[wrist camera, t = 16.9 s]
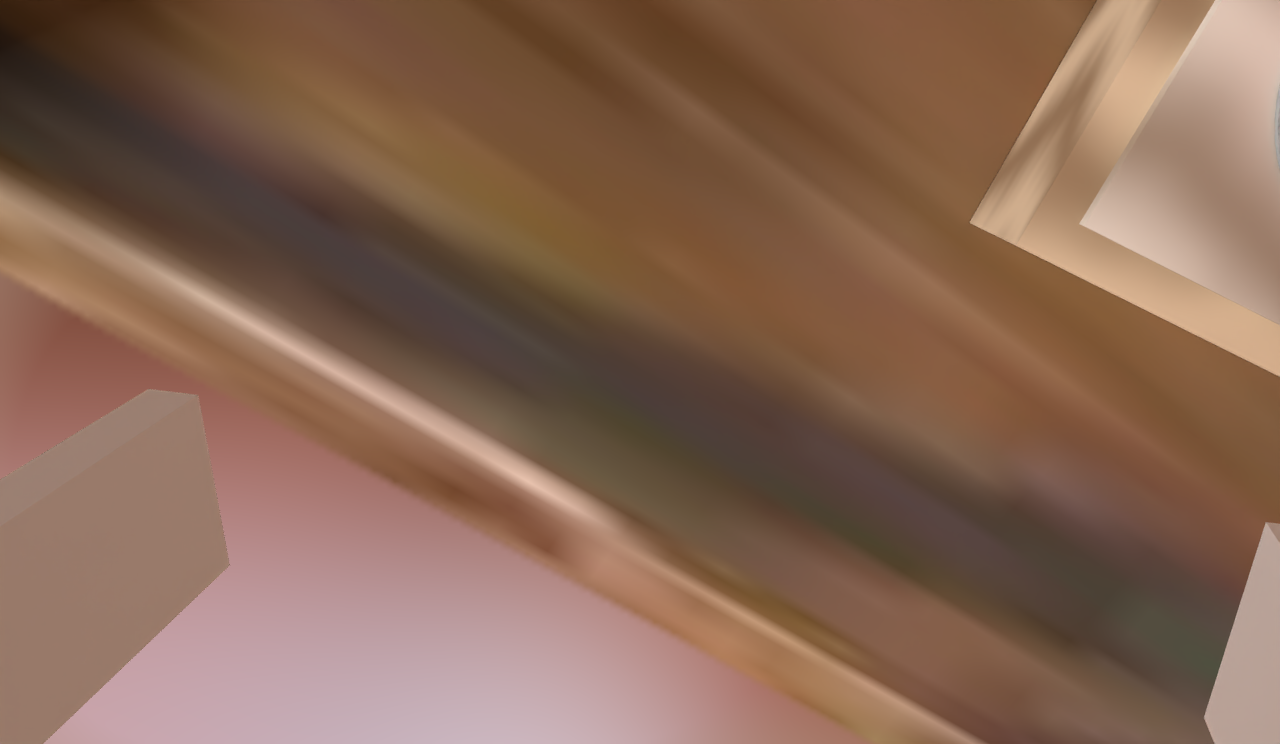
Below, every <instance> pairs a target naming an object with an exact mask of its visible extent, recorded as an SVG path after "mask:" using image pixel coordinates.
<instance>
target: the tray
mask: <svg viewBox="0 0 1280 744" xmlns="http://www.w3.org/2000/svg"><path fill="white" fill-rule="evenodd" d="M1279 85H1280V0H1097V1H1096V3H1095V5H1094V7H1093V8H1092V10H1091V12H1090V14H1089V15H1088V17H1087V19H1086V21H1085V22H1084V24H1083V26H1082V28H1081V29H1080V31H1079V33H1078V35H1077V36H1076V38H1075V40H1074V41H1073V43H1072V45H1071V47H1070V48H1069V50H1068V52H1067V54H1066V55H1065V57H1064V59H1063V61H1062V62H1061V64H1060V66H1059V68H1058V69H1057V71H1056V73H1055V75H1054V76H1053V78H1052V80H1051V82H1050V83H1049V85H1048V87H1047V88H1046V90H1045V92H1044V94H1043V95H1042V97H1041V99H1040V101H1039V102H1038V104H1037V106H1036V108H1035V109H1034V111H1033V113H1032V115H1031V116H1030V118H1029V120H1028V122H1027V123H1026V125H1025V127H1024V129H1023V130H1022V132H1021V134H1020V135H1019V137H1018V139H1017V141H1016V142H1015V144H1014V146H1013V148H1012V149H1011V151H1010V153H1009V155H1008V156H1007V158H1006V160H1005V162H1004V163H1003V165H1002V167H1001V169H1000V170H999V172H998V174H997V176H996V177H995V179H994V181H993V182H992V184H991V186H990V188H989V189H988V191H987V193H986V195H985V196H984V198H983V200H982V202H981V203H980V205H979V207H978V209H977V210H976V212H975V214H974V216H973V217H972V219H971V221H970V223H971V224H973V225H975V226H977V227H979V228H981V229H983V230H985V231H987V232H989V233H991V234H993V235H995V236H997V237H999V238H1001V239H1003V240H1005V241H1007V242H1009V243H1011V244H1013V245H1015V246H1017V247H1019V248H1021V249H1023V250H1025V251H1027V252H1029V253H1031V254H1033V255H1035V256H1037V257H1039V258H1041V259H1043V260H1046V261H1048V262H1050V263H1052V264H1054V265H1056V266H1058V267H1060V268H1062V269H1064V270H1066V271H1068V272H1070V273H1072V274H1074V275H1076V276H1078V277H1080V278H1082V279H1084V280H1086V281H1088V282H1090V283H1092V284H1094V285H1096V286H1098V287H1100V288H1102V289H1104V290H1106V291H1108V292H1110V293H1112V294H1114V295H1116V296H1118V297H1120V298H1122V299H1124V300H1126V301H1128V302H1130V303H1132V304H1134V305H1136V306H1138V307H1140V308H1142V309H1144V310H1146V311H1148V312H1150V313H1152V314H1154V315H1156V316H1158V317H1160V318H1162V319H1164V320H1166V321H1168V322H1170V323H1172V324H1174V325H1176V326H1178V327H1180V328H1182V329H1184V330H1186V331H1188V332H1190V333H1192V334H1194V335H1196V336H1198V337H1200V338H1203V339H1205V340H1207V341H1209V342H1211V343H1213V344H1215V345H1217V346H1219V347H1221V348H1223V349H1225V350H1227V351H1229V352H1231V353H1233V354H1235V355H1237V356H1239V357H1241V358H1243V359H1245V360H1247V361H1249V362H1251V363H1253V364H1255V365H1257V366H1259V367H1261V368H1263V369H1265V370H1267V371H1269V372H1271V373H1273V374H1275V375H1277V376H1279V377H1280V169H1279V164H1278V160H1277V155H1276V146H1275V110H1276V101H1277V96H1278V90H1279Z"/></svg>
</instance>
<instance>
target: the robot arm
mask: <svg viewBox="0 0 1280 744" xmlns="http://www.w3.org/2000/svg"><path fill="white" fill-rule="evenodd" d="M229 565H230V564H229V558H228V553H227V548H226V542H225V537H224V532H223V526H222V521H221V516H220V510H219V505H218V500H217V494H216V488H215V483H214V478H213V473H212V467H211V462H210V456H209V451H208V446H207V440H206V435H205V430H204V424H203V419H202V414H201V408H200V402H199V397H198V395H193V394H186V393H177V392H169V391H160V390H152V389H148V390H146V391H145V392H143V393H141V394H140V395H138V396H136V397H135V398H133V399H131V400H130V401H128V402H127V403H125V404H123V405H122V406H120V407H119V408H117V409H115V410H113V411H112V412H110V413H109V414H107V415H105V416H104V417H102V418H100V419H99V420H97V421H95V422H94V423H92V424H90V425H89V426H87V427H85V428H84V429H82V430H81V431H79V432H77V433H76V434H74V435H72V436H71V437H69V438H67V439H66V440H64V441H62V442H61V443H59V444H58V445H56V446H54V447H53V448H51V449H49V450H48V451H46V452H44V453H43V454H41V455H40V456H38V457H36V458H35V459H33V460H31V461H30V462H28V463H27V464H25V465H23V466H22V467H20V468H18V469H17V470H15V471H13V472H12V473H10V474H8V475H7V476H5V477H4V478H2V479H0V744H43V743H44V742H45V741H46V740H47V739H48V738H50V737H51V736H52V735H53V734H54V733H55V732H56V731H57V730H58V729H59V728H60V727H61V726H62V725H63V724H64V723H65V722H66V721H67V720H68V719H69V718H70V717H71V716H73V714H75V713H76V712H77V711H78V710H79V709H80V708H81V707H82V706H83V705H84V704H85V703H86V702H87V701H88V700H89V699H90V698H91V697H92V696H93V695H95V694H96V693H97V692H98V691H99V690H100V689H101V688H102V687H103V686H104V685H105V684H106V683H107V682H108V681H109V680H110V679H111V678H112V677H113V676H114V675H115V674H116V673H117V672H118V671H120V670H121V669H122V668H123V667H124V666H125V665H126V664H127V663H128V662H129V661H130V660H131V659H132V658H133V657H134V656H135V655H136V654H137V653H138V652H139V651H140V650H142V649H143V648H144V647H145V646H146V645H147V644H148V643H149V642H150V641H151V640H152V639H153V638H154V637H155V636H156V635H157V634H158V633H159V632H160V631H161V630H162V629H164V628H165V627H166V626H167V625H168V624H169V623H170V622H171V621H172V620H173V619H174V618H175V617H176V616H177V615H178V614H179V613H180V612H181V611H182V610H183V609H184V608H185V607H186V606H188V605H189V604H190V603H191V602H192V601H193V600H194V599H195V598H196V597H197V596H198V595H199V594H200V593H201V592H202V591H203V590H204V589H205V588H206V587H208V585H210V584H211V583H212V582H213V581H214V580H215V579H216V578H217V577H218V576H219V575H220V574H221V573H222V572H223V571H224V570H225V569H226V568H227V567H228V566H229ZM1204 719H1205V721H1206V724H1207V726H1208V729H1209V731H1210V733H1211V736H1212V738H1213V741H1214V743H1215V744H1280V524H1277V523H1268V522H1266V524H1265V527H1264V530H1263V533H1262V536H1261V540H1260V543H1259V546H1258V549H1257V552H1256V555H1255V558H1254V562H1253V565H1252V568H1251V571H1250V574H1249V577H1248V581H1247V584H1246V587H1245V590H1244V593H1243V596H1242V599H1241V603H1240V606H1239V609H1238V612H1237V615H1236V618H1235V622H1234V625H1233V628H1232V631H1231V634H1230V637H1229V640H1228V644H1227V647H1226V650H1225V653H1224V656H1223V659H1222V662H1221V666H1220V669H1219V672H1218V675H1217V678H1216V681H1215V685H1214V688H1213V691H1212V694H1211V697H1210V700H1209V703H1208V707H1207V710H1206V713H1205V716H1204Z"/></svg>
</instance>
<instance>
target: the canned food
mask: <svg viewBox="0 0 1280 744" xmlns="http://www.w3.org/2000/svg"><path fill="white" fill-rule="evenodd" d="M1275 146H1276V155H1277V160H1278V164H1279V169H1280V85H1279V90H1278V96H1277V101H1276V110H1275Z"/></svg>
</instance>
